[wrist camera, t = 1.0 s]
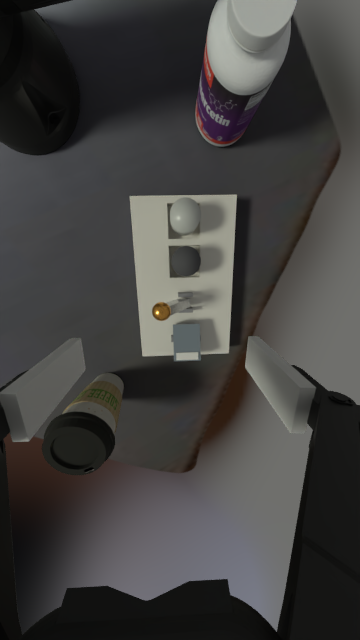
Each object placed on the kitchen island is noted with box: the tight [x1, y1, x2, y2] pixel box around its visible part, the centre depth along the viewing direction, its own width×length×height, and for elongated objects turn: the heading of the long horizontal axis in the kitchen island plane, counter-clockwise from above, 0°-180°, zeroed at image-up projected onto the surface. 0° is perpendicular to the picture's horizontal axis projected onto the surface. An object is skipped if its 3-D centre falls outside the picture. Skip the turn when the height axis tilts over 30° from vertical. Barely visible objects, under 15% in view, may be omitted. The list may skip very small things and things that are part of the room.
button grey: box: [170, 197, 201, 236], centre depth 28 cm, size 4×4×4 cm
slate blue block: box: [173, 324, 201, 361], centre depth 33 cm, size 6×4×2 cm
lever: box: [152, 298, 190, 321], centre depth 29 cm, size 3×3×9 cm
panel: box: [130, 195, 237, 356], centre depth 34 cm, size 26×16×5 cm, turn 1°
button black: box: [171, 246, 201, 277], centre depth 30 cm, size 4×4×4 cm
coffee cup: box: [42, 373, 124, 475], centre depth 34 cm, size 10×10×15 cm
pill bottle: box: [195, 0, 297, 147], centre depth 23 cm, size 8×8×14 cm
